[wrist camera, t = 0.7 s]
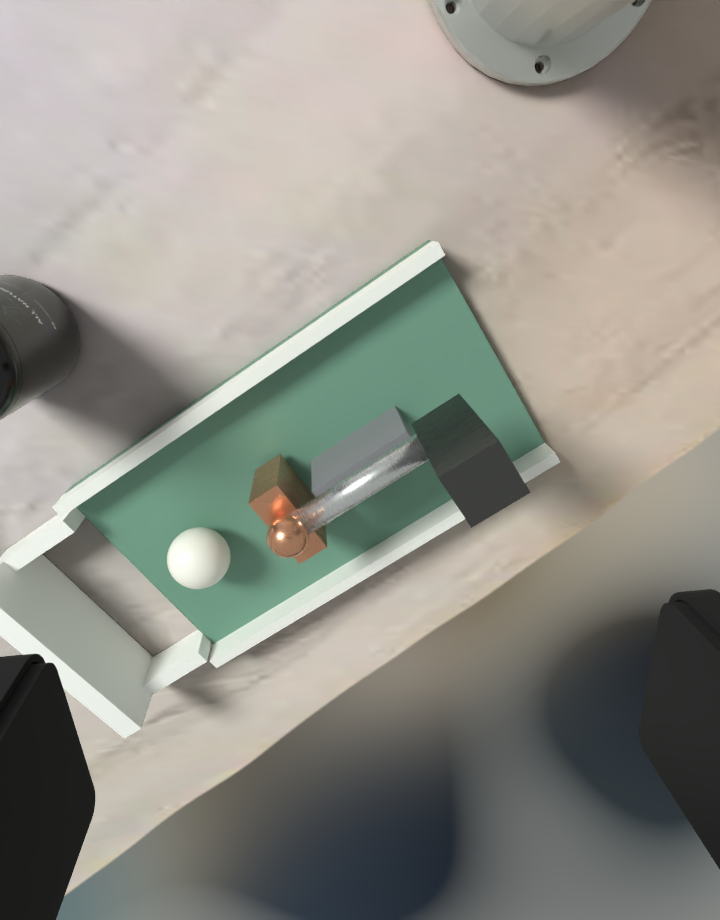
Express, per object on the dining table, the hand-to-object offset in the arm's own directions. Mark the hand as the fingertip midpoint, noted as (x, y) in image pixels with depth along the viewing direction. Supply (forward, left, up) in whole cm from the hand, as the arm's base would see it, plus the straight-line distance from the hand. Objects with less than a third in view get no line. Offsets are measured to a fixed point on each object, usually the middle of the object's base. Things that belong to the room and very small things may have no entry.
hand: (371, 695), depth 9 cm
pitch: (+9, +7, -29) cm, 31 cm away
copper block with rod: (+2, +7, -28) cm, 29 cm away
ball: (+15, +7, -26) cm, 31 cm away
